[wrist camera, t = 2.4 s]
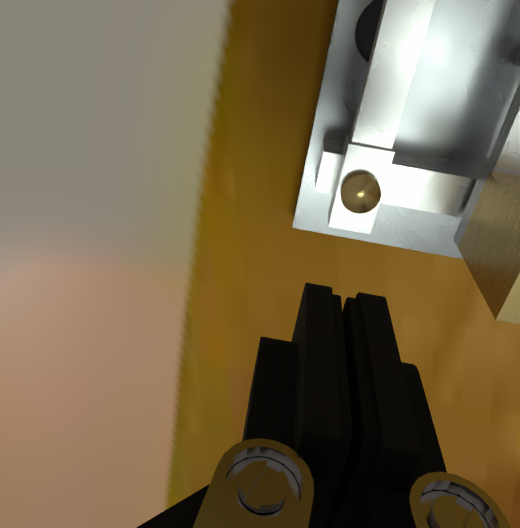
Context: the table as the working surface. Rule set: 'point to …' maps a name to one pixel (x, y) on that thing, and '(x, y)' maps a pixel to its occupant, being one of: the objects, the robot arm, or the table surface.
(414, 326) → the table surface
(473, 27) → the bolt plate
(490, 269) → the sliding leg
